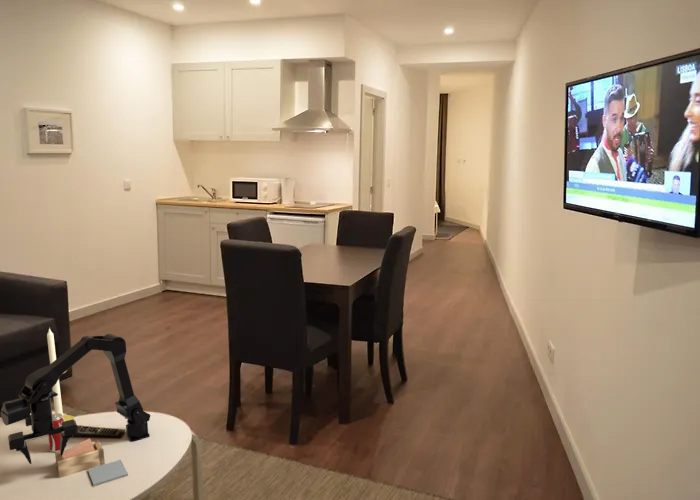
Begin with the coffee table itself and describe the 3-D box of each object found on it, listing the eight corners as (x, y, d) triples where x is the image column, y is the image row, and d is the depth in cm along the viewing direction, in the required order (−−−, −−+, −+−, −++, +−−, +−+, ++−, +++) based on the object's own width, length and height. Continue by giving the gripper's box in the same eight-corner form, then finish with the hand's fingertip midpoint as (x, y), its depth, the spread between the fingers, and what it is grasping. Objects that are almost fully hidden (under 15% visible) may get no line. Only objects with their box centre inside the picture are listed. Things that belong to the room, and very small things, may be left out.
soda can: (59, 453, 189) (56, 420, 187) (46, 451, 190) (42, 419, 188) (70, 445, 194) (66, 413, 192) (57, 443, 195) (53, 412, 193)
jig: (100, 453, 188) (99, 440, 187) (104, 464, 182) (103, 450, 181) (56, 466, 181) (54, 452, 180) (59, 477, 174) (57, 463, 174)
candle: (54, 431, 204) (43, 333, 197) (39, 424, 209) (28, 329, 202) (80, 419, 212) (70, 325, 205) (64, 413, 217) (54, 321, 211)
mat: (120, 461, 183) (120, 459, 183) (127, 475, 175) (127, 473, 175) (87, 471, 178) (87, 469, 178) (93, 486, 170) (93, 484, 170)
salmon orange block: (93, 446, 185) (89, 438, 184) (95, 452, 181) (92, 443, 180) (64, 460, 180) (61, 452, 179) (66, 466, 177) (62, 457, 176)
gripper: (70, 396, 184) (74, 440, 187) (4, 410, 174) (10, 456, 176) (76, 409, 175) (80, 454, 178) (6, 424, 165) (12, 473, 167)
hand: (46, 459), depth 175 cm, fingers open, 8 cm apart
